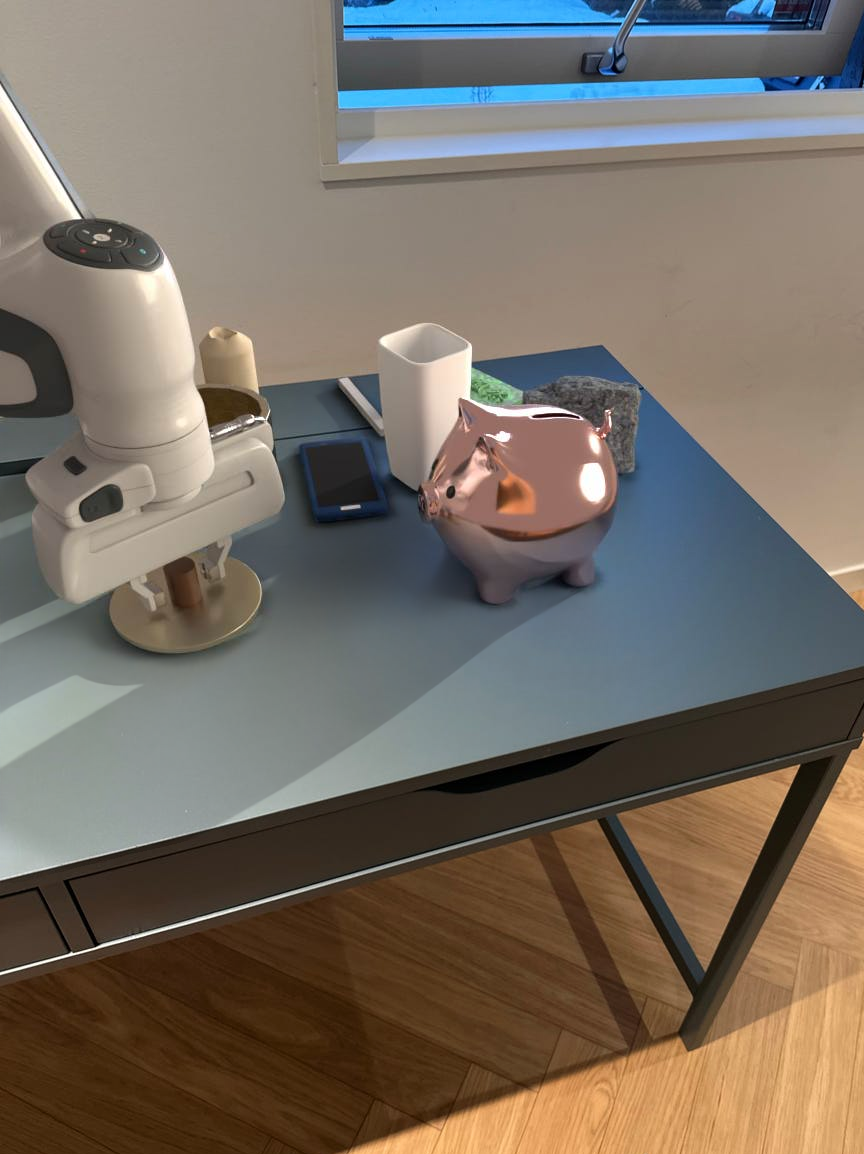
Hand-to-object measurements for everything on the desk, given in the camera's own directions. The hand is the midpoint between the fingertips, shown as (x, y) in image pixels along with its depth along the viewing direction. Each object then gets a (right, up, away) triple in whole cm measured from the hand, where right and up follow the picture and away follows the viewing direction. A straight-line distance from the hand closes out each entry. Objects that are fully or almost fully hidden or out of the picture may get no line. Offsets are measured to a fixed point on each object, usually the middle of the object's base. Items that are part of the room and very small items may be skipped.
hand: (184, 591), depth 80 cm
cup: (+20, +13, +17) cm, 29 cm away
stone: (+36, +14, +20) cm, 44 cm away
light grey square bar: (+12, +22, +27) cm, 37 cm away
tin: (-1, +11, +15) cm, 19 cm away
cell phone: (+11, +12, +16) cm, 23 cm away
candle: (-2, +21, +25) cm, 33 cm away
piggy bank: (+28, +3, +8) cm, 30 cm away
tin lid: (0, -1, +1) cm, 1 cm away
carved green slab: (+23, +22, +28) cm, 42 cm away
